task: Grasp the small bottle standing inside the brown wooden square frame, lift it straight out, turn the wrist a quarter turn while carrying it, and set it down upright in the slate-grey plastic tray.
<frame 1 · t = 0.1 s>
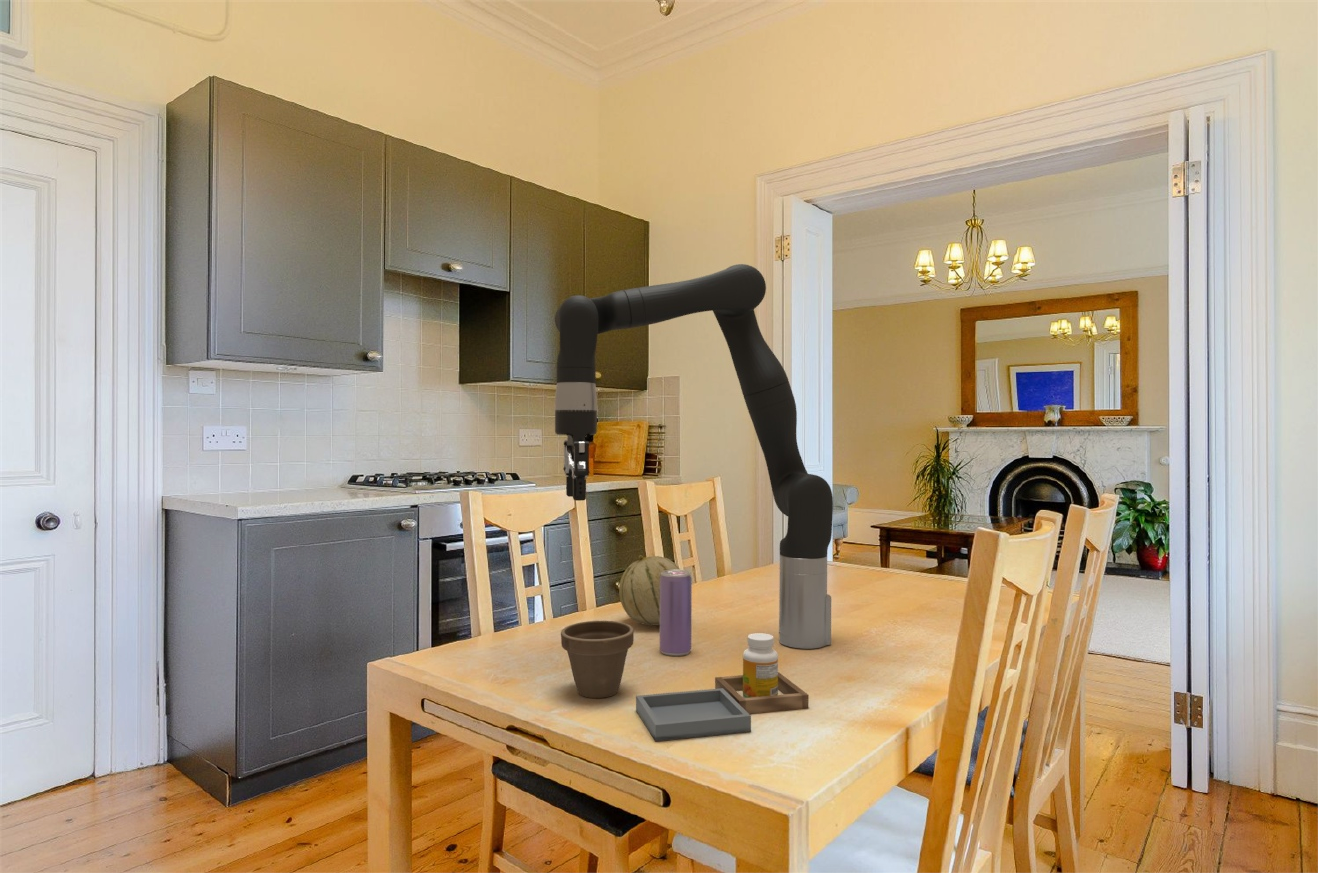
hand: (575, 498, 137), 29 cm above the table, fingers open, 8 cm apart
supplement bottle: (760, 700, 118), resting in brown wooden square frame
cantaloupe: (653, 625, 163), on the table
tray: (691, 720, 109), on the table
beverage can: (675, 653, 142), on the table
brown wooden square frame: (760, 698, 118), on the table
flower pot: (597, 693, 120), on the table
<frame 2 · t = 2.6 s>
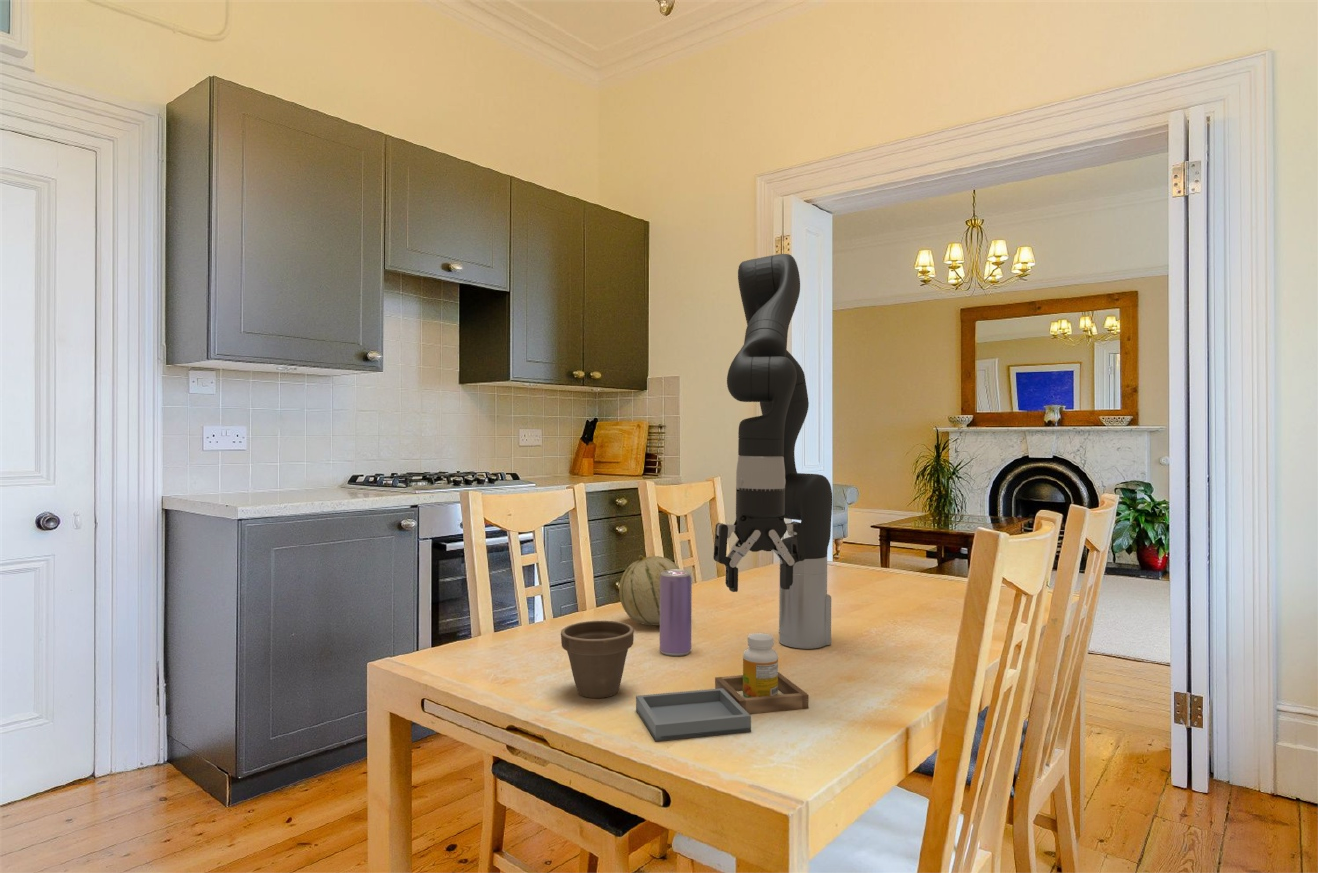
hand: (759, 590, 118), 17 cm above the table, fingers open, 8 cm apart
nothing on the table moved.
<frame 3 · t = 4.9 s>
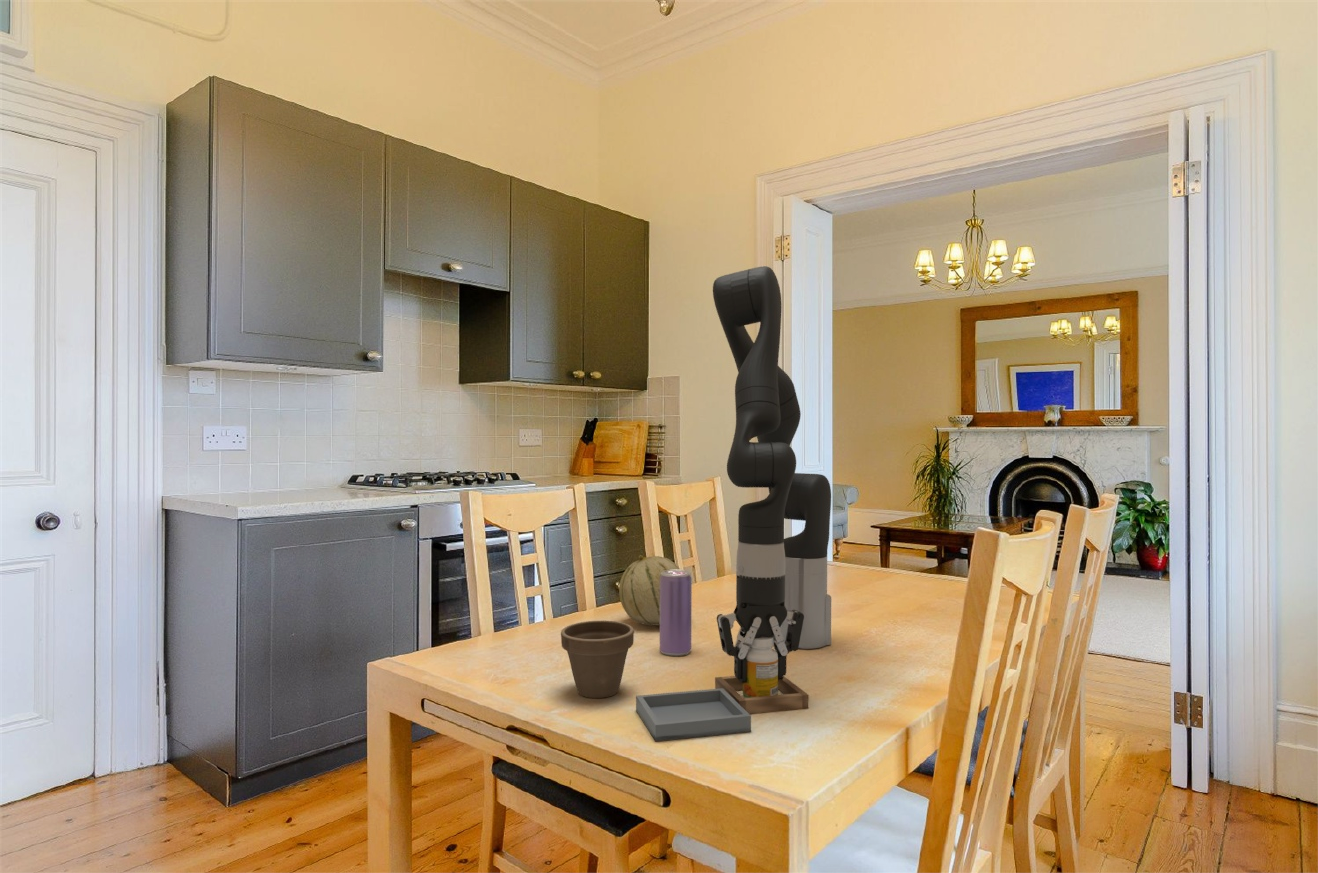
hand: (760, 679, 118), 3 cm above the table, fingers closed on supplement bottle, 5 cm apart
supplement bottle: (760, 700, 118), resting in brown wooden square frame, touching gripper
everything else where it was.
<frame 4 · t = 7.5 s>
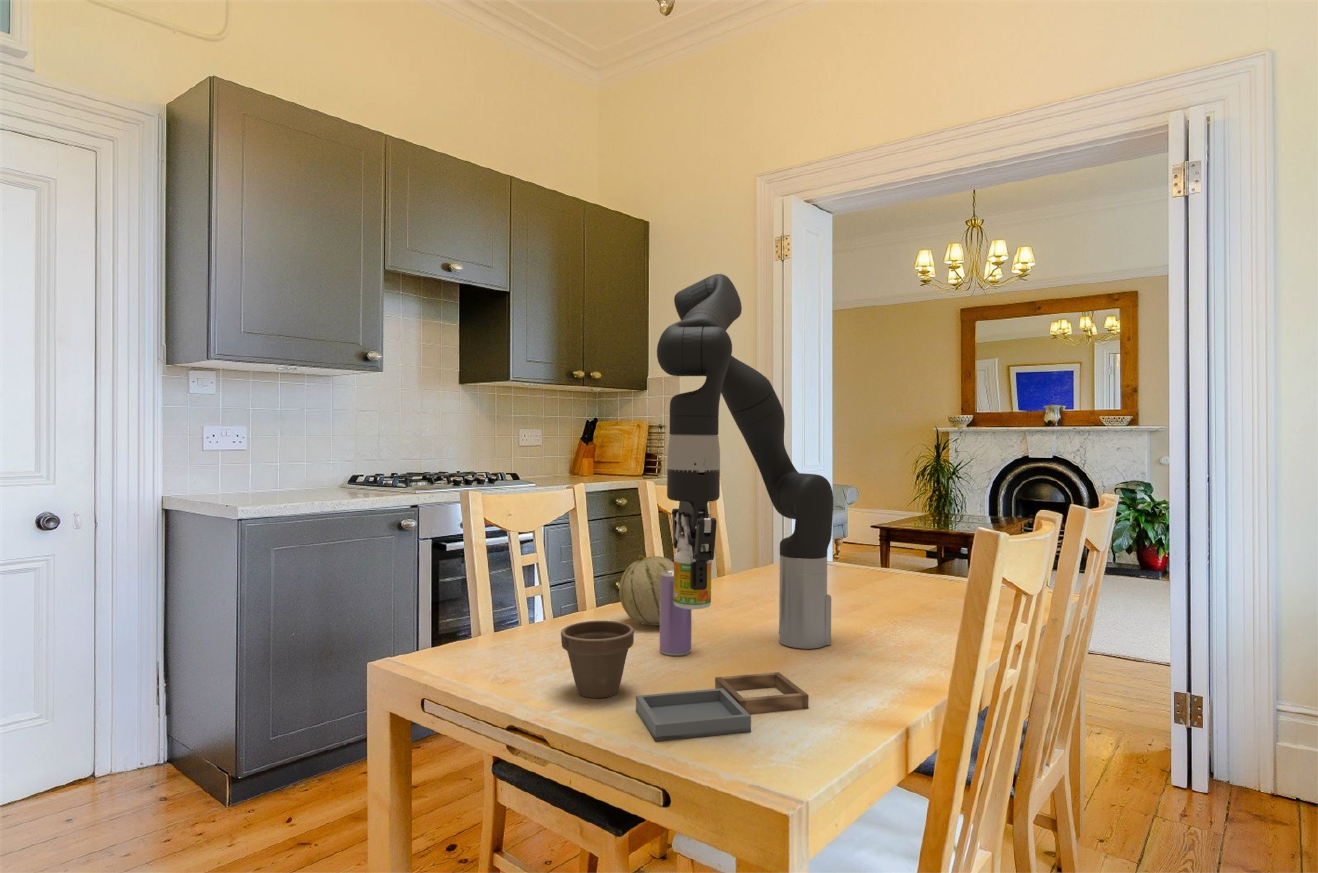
hand: (692, 584, 108), 20 cm above the table, fingers closed on supplement bottle, 5 cm apart
supplement bottle: (692, 607, 108), point 16 cm above the table, touching gripper
everything else where it was.
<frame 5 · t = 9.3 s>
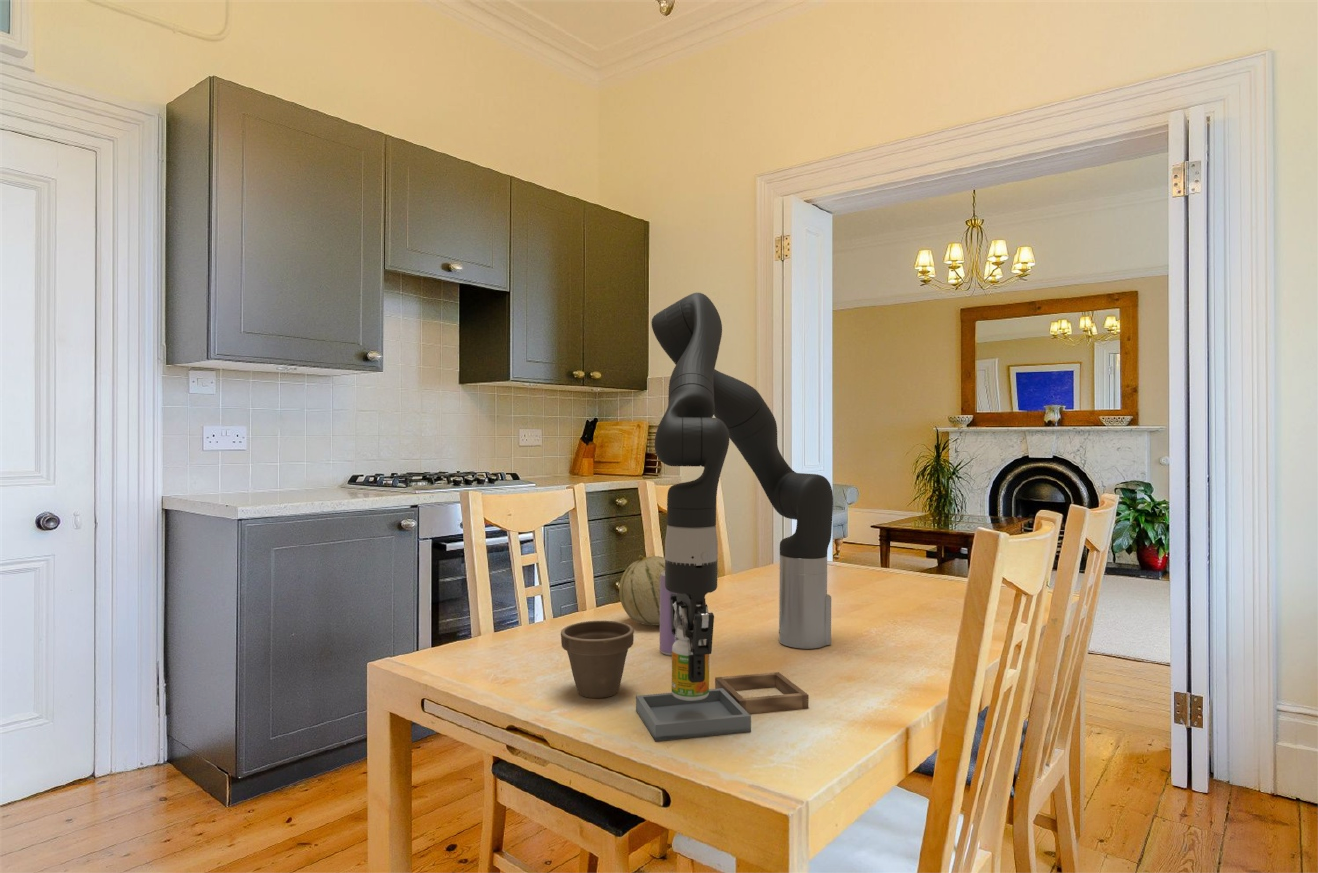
hand: (690, 674, 109), 7 cm above the table, fingers closed on supplement bottle, 5 cm apart
supplement bottle: (690, 696, 109), point 3 cm above the table, touching gripper
everything else where it was.
when the fingers open (5 cm above the table, at t = 10.6 s): supplement bottle stays where it is, resting on tray.
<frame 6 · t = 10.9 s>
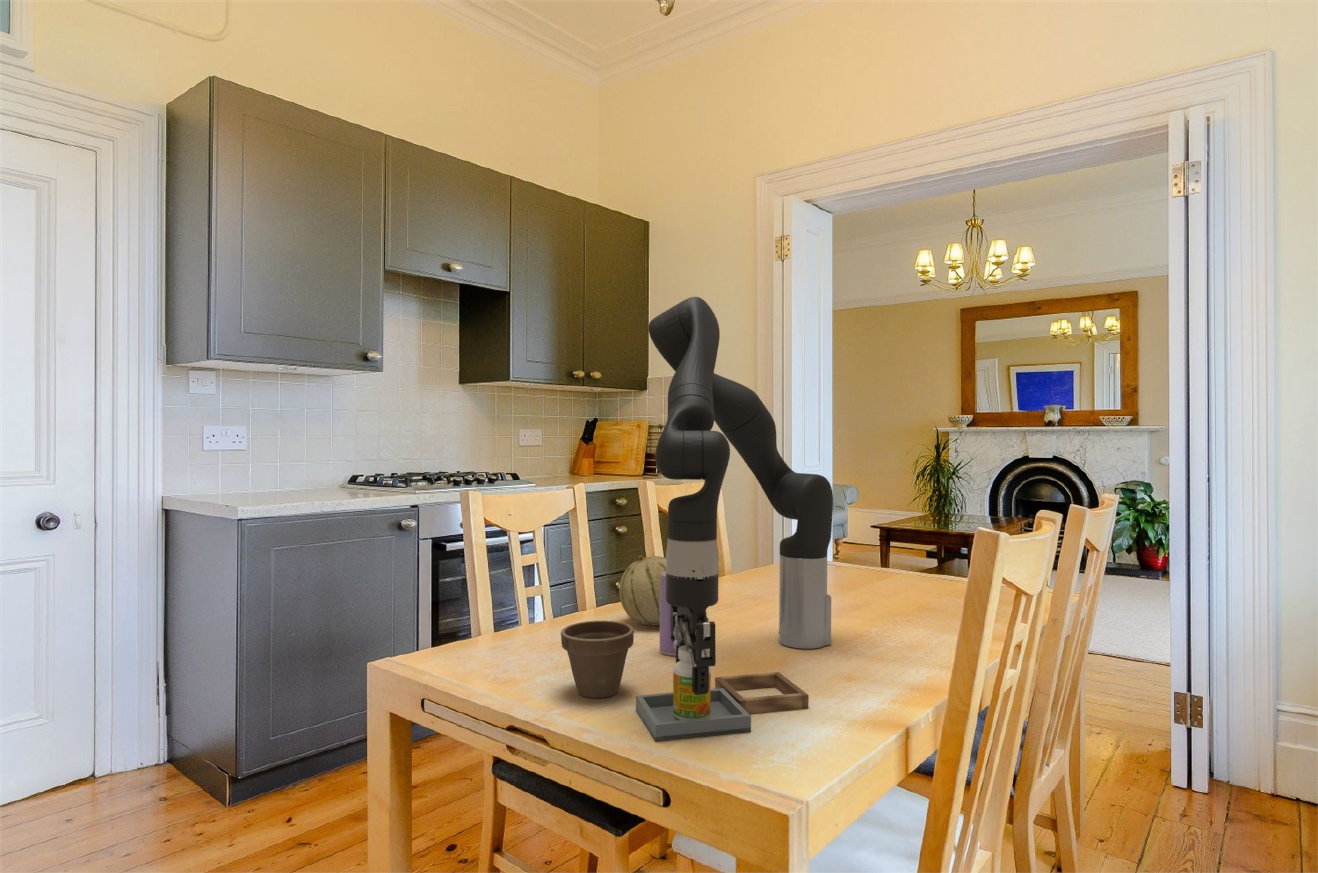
hand: (691, 683, 108), 5 cm above the table, fingers open, 8 cm apart
supplement bottle: (691, 717, 109), resting on tray
everything else where it was.
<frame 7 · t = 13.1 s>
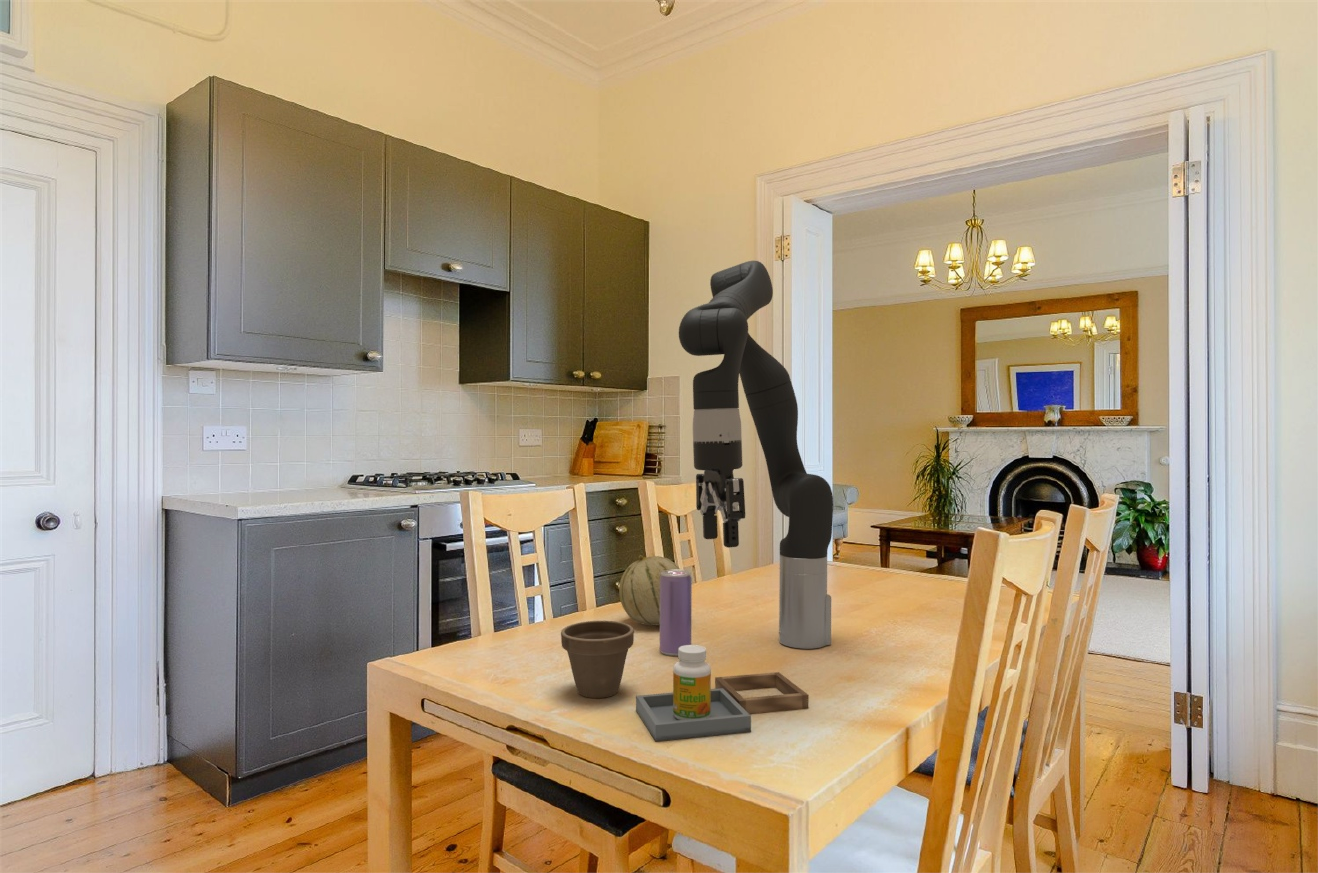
hand: (720, 542, 118), 24 cm above the table, fingers open, 8 cm apart
nothing on the table moved.
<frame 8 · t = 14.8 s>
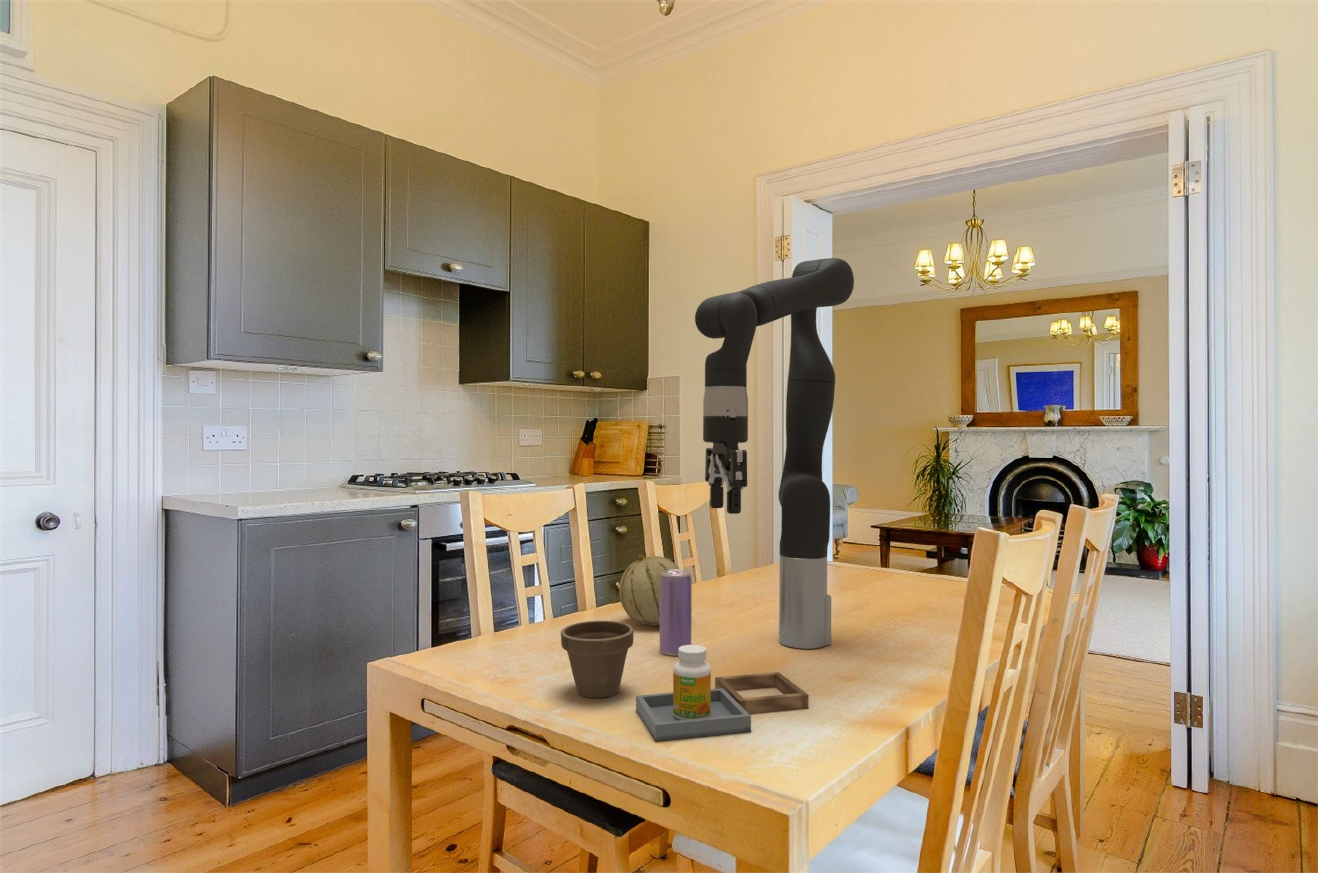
hand: (725, 510, 128), 28 cm above the table, fingers open, 8 cm apart
nothing on the table moved.
at the end: supplement bottle inside the target area on the tray (0.1 cm from its centre), point 0.4 cm above the tray's base; supplement bottle tilted 0°; the gripper is holding nothing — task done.
